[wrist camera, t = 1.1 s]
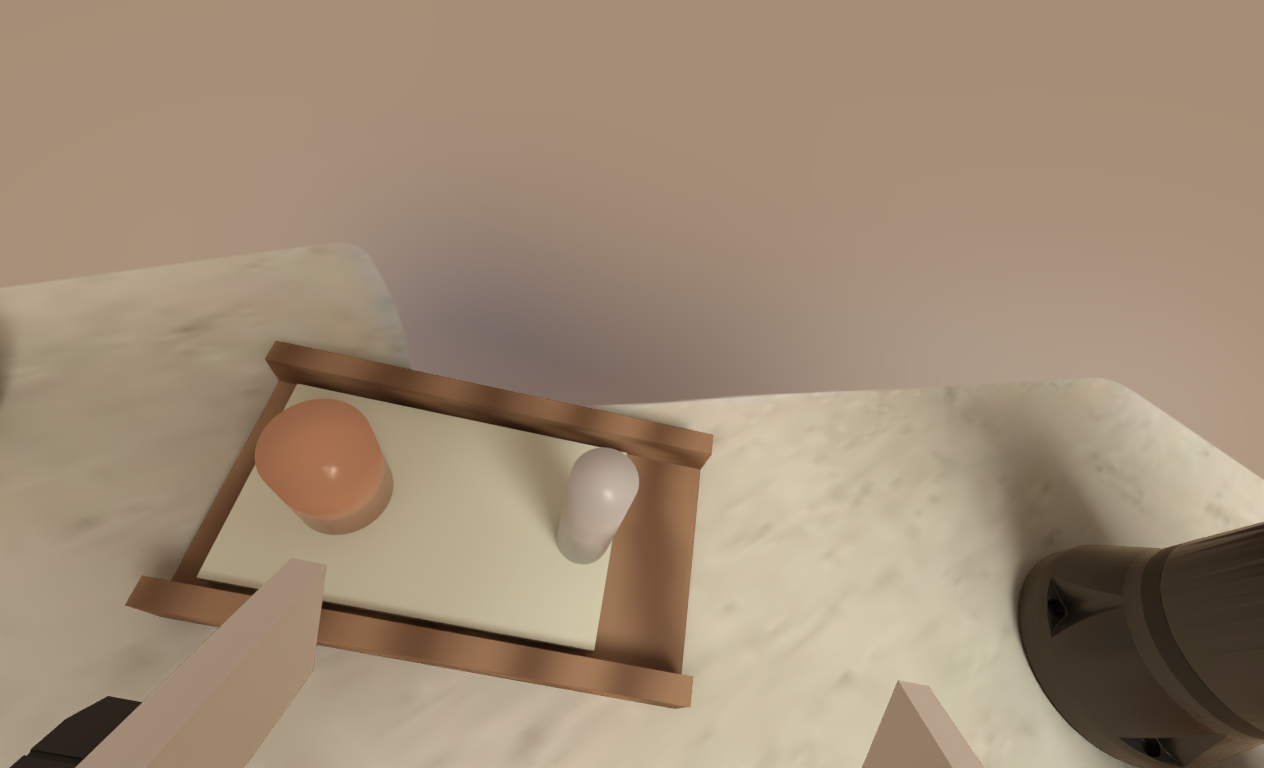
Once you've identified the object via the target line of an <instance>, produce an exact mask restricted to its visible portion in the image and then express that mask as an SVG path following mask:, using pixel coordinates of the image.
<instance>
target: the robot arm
mask: <svg viewBox="0 0 1264 768" xmlns="http://www.w3.org/2000/svg"><path fill="white" fill-rule="evenodd" d="M326 570H327V565H325V564H320V563H315V562H310V561H305V560H300V559H295V558H290V559H289V560H288V561H287V562H286V563H285V564H284V565H283V566H282V567H281V568H280V569H279V570H278V571H277V572H276V573H275V574H274V575H273V576H272V577H271V578H270V579H269V580H268V581H267V582H266V583H265V584H264V585H263V586H262V587H261V588H260V589H258V590H257V591H256V592H255V593H254V594H253V595H252V596H251V597H250V598H249V599H248V600H247V601H246V602H245V603H244V604H243V605H242V606H241V607H240V608H239V609H238V610H237V611H236V612H235V613H234V614H233V615H232V616H231V617H230V618H229V619H228V620H227V621H226V622H225V623H224V624H223V625H221V626H220V627H219V628H218V629H217V630H216V631H215V632H214V633H213V634H212V635H211V636H210V637H209V638H208V639H207V640H206V641H205V642H204V643H203V644H202V645H201V646H200V647H199V648H198V649H197V650H196V651H195V652H194V653H193V654H192V655H191V656H190V657H189V658H188V659H187V660H185V661H184V662H183V663H182V664H181V665H180V666H179V667H178V668H177V669H176V670H175V671H174V672H173V673H172V674H171V675H170V676H169V677H168V678H167V679H166V680H165V681H164V682H163V683H162V684H161V685H160V686H159V687H158V688H157V689H156V690H155V691H154V692H153V693H152V694H151V695H149V696H148V697H147V698H146V699H145V700H144V701H143V702H137V701H132V700H126V699H121V698H115V697H110V696H107V697H106V698H104V699H102V700H100V701H98V702H96V703H95V704H93V705H91V706H89V707H87V708H85V709H83V710H82V711H80V712H78V713H76V714H74V715H72V716H70V717H69V718H67V719H65V720H64V721H63V722H62V723H61V724H59V725H58V726H57V727H56V728H55V729H54V730H53V731H51V732H50V733H49V734H48V735H47V736H46V737H44V738H43V739H42V740H41V741H40V742H39V743H38V744H36V745H35V746H34V747H33V748H32V749H31V751H30V753H29V754H28V755H27V756H25V755H24V756H23V757H21V758H20V759H19V760H18V761H17V762H16V763H15V764H13V765H12V766H11V767H10V768H244V767H245V766H246V765H247V763H248V762H249V760H250V759H251V757H252V756H253V755H254V753H255V752H256V750H257V749H258V748H259V746H260V745H261V743H262V742H263V741H264V739H265V738H266V736H267V735H268V734H269V732H270V731H271V729H272V728H273V727H274V725H275V724H276V722H277V721H278V719H279V718H280V717H281V715H282V714H283V712H284V711H285V710H286V708H287V707H288V705H289V704H290V703H291V701H292V700H293V698H294V697H295V696H296V694H297V693H298V691H299V690H300V689H301V687H302V686H303V684H304V683H305V681H306V680H307V679H308V677H309V676H310V674H311V673H312V672H313V666H314V658H315V651H316V644H317V636H318V629H319V621H320V614H321V607H322V599H323V592H324V584H325V577H326ZM1019 619H1020V628H1021V634H1022V639H1023V643H1024V646H1025V650H1026V653H1027V656H1028V658H1029V661H1030V663H1031V666H1032V668H1033V670H1034V672H1035V675H1036V677H1037V679H1038V680H1039V682H1040V684H1041V686H1042V687H1043V689H1044V691H1045V692H1046V694H1047V695H1048V697H1049V698H1050V700H1051V701H1052V703H1053V704H1054V705H1055V707H1056V708H1057V709H1058V711H1059V712H1060V713H1061V714H1062V716H1063V717H1064V718H1065V719H1066V720H1067V721H1068V722H1069V723H1070V724H1071V725H1072V726H1073V727H1074V728H1075V729H1076V730H1077V731H1078V732H1079V733H1080V734H1081V735H1082V736H1083V737H1084V738H1086V739H1087V740H1088V741H1089V742H1091V743H1092V744H1093V745H1095V746H1096V747H1098V748H1099V749H1100V750H1102V751H1104V752H1105V753H1107V754H1109V755H1111V756H1112V757H1114V758H1116V759H1118V760H1121V761H1123V762H1126V763H1128V764H1131V765H1135V766H1138V767H1143V768H1201V767H1204V766H1207V765H1210V764H1212V763H1215V762H1217V761H1220V760H1222V759H1225V758H1227V757H1230V756H1232V755H1235V754H1238V753H1240V752H1243V751H1245V750H1248V749H1250V748H1253V747H1255V746H1258V745H1260V744H1263V743H1264V522H1262V523H1258V524H1254V525H1250V526H1246V527H1242V528H1239V529H1235V530H1231V531H1227V532H1223V533H1219V534H1216V535H1212V536H1208V537H1204V538H1200V539H1197V540H1193V541H1189V542H1186V543H1183V544H1179V545H1175V546H1171V547H1168V548H1164V549H1160V548H1142V547H1124V546H1106V545H1087V546H1079V547H1075V548H1071V549H1068V550H1065V551H1062V552H1059V553H1056V554H1053V555H1050V556H1048V557H1046V558H1044V559H1043V560H1041V561H1040V562H1039V563H1038V564H1037V565H1035V566H1034V568H1033V569H1032V570H1031V571H1030V573H1029V575H1028V576H1027V578H1026V580H1025V583H1024V585H1023V588H1022V592H1021V597H1020V605H1019ZM862 768H984V767H983V765H982V764H981V762H980V761H979V759H978V758H977V756H976V755H975V753H974V752H973V750H972V749H971V748H970V746H969V745H968V743H967V742H966V740H965V739H964V737H963V736H962V734H961V733H960V731H959V730H958V728H957V727H956V726H955V724H954V723H953V721H952V720H951V718H950V717H949V715H948V714H947V712H946V711H945V709H944V708H943V706H942V705H941V704H940V702H939V701H938V699H937V698H936V696H935V695H934V693H933V692H932V690H931V689H930V687H929V686H924V685H919V684H914V683H909V682H904V681H899V680H898V681H897V684H896V686H895V689H894V691H893V694H892V696H891V698H890V701H889V703H888V706H887V708H886V711H885V713H884V715H883V718H882V720H881V723H880V725H879V728H878V730H877V732H876V735H875V737H874V740H873V742H872V745H871V747H870V749H869V752H868V754H867V757H866V759H865V762H864V764H863V766H862Z"/></svg>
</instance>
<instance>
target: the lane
mask: <svg viewBox="0 0 1264 768" xmlns="http://www.w3.org/2000/svg"><path fill="white" fill-rule="evenodd" d="M265 360H266V361H267V363H268V364H269V366H270V367H271V369H272V370H273V372H274V373H275V375H276V376H277V378H278V379H279V383H278V385H277V387H276V388H275V390H274V392H273V394H272V396H271V398H270V399H269V401H268V403H267V405H266V407H265V409H264V411H263V412H262V414H261V416H260V418H259V420H258V422H257V423H256V425H255V427H254V429H253V431H252V433H251V435H250V436H249V438H248V440H247V442H246V444H245V446H244V447H243V449H242V451H241V453H240V455H239V457H238V459H237V460H236V462H235V464H234V466H233V468H232V470H231V471H230V473H229V475H228V477H227V479H226V481H225V483H224V484H223V486H222V488H221V490H220V492H219V494H218V496H217V497H216V499H215V501H214V503H213V505H212V507H211V508H210V510H209V512H208V514H207V516H206V518H205V520H204V521H203V523H202V525H201V527H200V529H199V531H198V532H197V534H196V536H195V538H194V540H193V542H192V544H191V545H190V547H189V549H188V551H187V553H186V555H185V556H184V558H183V560H182V562H181V564H180V566H179V568H178V569H177V571H176V573H175V575H174V577H173V579H172V580H171V581H168V580H163V579H157V578H152V577H146V576H141V578H140V580H139V582H138V583H137V585H136V587H135V589H134V590H133V592H132V594H131V596H130V597H129V599H128V601H127V603H126V604H125V605H126V606H129V607H132V608H135V609H138V610H142V611H145V612H148V613H151V614H154V615H157V616H160V617H165V618H170V619H176V620H182V621H187V622H193V623H198V624H204V625H210V626H215V627H220V626H221V625H223V624H224V623H225V622H226V621H227V620H228V619H229V618H230V617H231V616H232V615H233V614H234V613H235V612H236V611H237V610H238V609H239V608H240V607H241V606H242V605H243V604H244V603H245V602H246V601H247V600H248V599H249V598H250V597H251V596H252V595H253V594H254V593H255V592H256V591H253V590H247V589H242V588H237V587H231V586H226V585H220V584H215V583H209V582H205V581H203V580H201V579H198V578H196V577H197V575H198V573H199V571H200V569H201V567H202V565H203V564H204V562H205V560H206V558H207V556H208V554H209V552H210V550H211V548H212V546H213V544H214V542H215V540H216V539H217V537H218V535H219V533H220V531H221V529H222V527H223V525H224V523H225V521H226V519H227V517H228V516H229V514H230V512H231V510H232V508H233V506H234V504H235V502H236V500H237V498H238V496H239V494H240V493H241V491H242V489H243V487H244V485H245V483H246V481H247V479H248V477H249V475H250V473H251V471H252V470H253V468H254V466H255V448H256V444H257V441H258V439H259V436H260V435H261V433H262V431H263V430H264V428H265V427H266V426H267V424H268V423H269V422H270V421H271V420H272V419H273V418H274V417H276V416H277V415H278V414H279V413H281V412H282V411H283V410H284V408H285V406H286V404H287V402H288V400H289V399H290V397H291V395H292V393H293V391H294V389H295V387H296V385H297V384H302V385H307V386H311V387H316V388H321V389H326V390H330V391H335V392H340V393H345V394H349V395H354V396H359V397H364V398H368V399H373V400H378V401H383V402H387V403H392V404H397V405H402V406H406V407H411V408H416V409H421V410H425V411H430V412H435V413H440V414H444V415H449V416H454V417H459V418H463V419H468V420H473V421H478V422H482V423H487V424H492V425H497V426H501V427H506V428H511V429H516V430H520V431H525V432H530V433H535V434H539V435H544V436H549V437H554V438H558V439H563V440H568V441H573V442H577V443H582V444H587V445H592V446H596V447H604V448H612V449H615V450H618V451H620V452H625V453H627V457H628V458H629V459H630V460H631V461H632V462H633V464H634V465H635V467H636V469H637V472H638V476H639V487H638V491H637V494H636V496H635V498H634V500H633V502H632V504H631V505H630V507H629V509H628V511H627V513H626V515H625V517H624V519H623V520H622V522H621V524H620V526H619V528H618V530H617V532H616V533H615V535H614V537H613V540H612V546H611V552H610V558H609V564H608V570H607V576H606V582H605V588H604V594H603V600H602V606H601V612H600V618H599V624H598V630H597V637H596V643H595V649H594V651H593V652H592V653H590V652H584V651H579V650H573V649H568V648H563V647H557V646H552V645H546V644H541V643H535V642H530V641H525V640H519V639H514V638H508V637H503V636H497V635H492V634H487V633H481V632H476V631H470V630H465V629H459V628H454V627H448V626H443V625H438V624H432V623H427V622H421V621H416V620H410V619H405V618H400V617H394V616H389V615H383V614H378V613H372V612H367V611H362V610H356V609H351V608H345V607H340V606H334V605H329V604H324V603H322V607H321V614H320V621H319V629H318V636H317V644H316V645H321V646H327V647H333V648H338V649H344V650H349V651H355V652H361V653H366V654H372V655H377V656H383V657H388V658H394V659H400V660H405V661H411V662H416V663H422V664H428V665H433V666H439V667H444V668H450V669H456V670H461V671H467V672H472V673H478V674H484V675H489V676H495V677H500V678H506V679H512V680H517V681H523V682H528V683H534V684H539V685H545V686H551V687H556V688H562V689H567V690H573V691H579V692H584V693H590V694H595V695H601V696H607V697H612V698H618V699H623V700H629V701H635V702H640V703H646V704H651V705H657V706H663V707H668V708H674V709H676V708H684V707H691V695H692V683H693V677H692V676H686V675H681V673H682V662H683V652H684V641H685V630H686V619H687V609H688V598H689V587H690V576H691V566H692V555H693V544H694V533H695V523H696V512H697V501H698V490H699V480H700V469H701V468H702V467H703V465H704V464H705V463H706V461H707V460H708V459H709V457H710V456H711V454H712V444H713V435H712V434H707V433H702V432H698V431H693V430H688V429H684V428H679V427H674V426H670V425H665V424H660V423H656V422H651V421H647V420H642V419H637V418H633V417H628V416H623V415H619V414H614V413H609V412H605V411H600V410H595V409H591V408H586V407H582V406H577V405H572V404H567V403H562V402H558V401H554V400H549V399H544V398H540V397H535V396H530V395H525V394H521V393H516V392H512V391H507V390H503V389H498V388H493V387H489V386H484V385H479V384H475V383H470V382H465V381H461V380H456V379H451V378H447V377H442V376H438V375H433V374H428V373H423V372H419V371H414V370H410V369H405V368H400V367H396V366H391V365H386V364H382V363H377V362H372V361H368V360H363V359H359V358H354V357H349V356H345V355H340V354H335V353H331V352H326V351H321V350H317V349H312V348H307V347H303V346H298V345H294V344H289V343H284V342H280V341H275V343H274V344H273V346H272V348H271V350H270V351H269V353H268V355H267V357H266V358H265Z"/></svg>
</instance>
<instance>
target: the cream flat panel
mask: <svg viewBox="0 0 1264 768" xmlns="http://www.w3.org/2000/svg"><path fill="white" fill-rule="evenodd" d="M313 399H334V400H339V401H343V402H345V403H348V404H350V405H352V406H354V407H355V408H357V409H358V410H359V411H360V412H361V413H362V414H363V415H364V416H365V417H366V419H367V420H368V422H369V424H370V426H371V428H372V430H373V432H374V435H375V437H376V439H377V441H378V443H379V446H380V448H381V450H382V452H383V455H384V457H385V459H386V461H387V463H388V466H389V468H390V470H391V473H392V476H393V493H392V496H391V499H390V501H389V504H388V505H387V507H386V509H385V510H384V511H383V513H382V514H381V515H380V516H379V517H378V518H377V519H376V520H375V521H374V522H372V523H371V524H369V525H368V526H366V527H364V528H362V529H360V530H358V531H355V532H352V533H348V534H342V535H330V534H324V533H320V532H318V531H315V530H313V529H312V528H310V527H309V526H307V525H306V524H305V523H304V522H303V521H302V520H301V519H300V518H299V517H298V516H297V515H296V514H295V513H294V512H293V511H292V510H291V509H290V508H289V507H288V506H287V505H286V504H285V503H284V502H283V501H282V500H281V499H280V498H279V496H278V495H277V494H276V493H275V492H274V491H273V490H272V489H271V488H270V487H269V486H268V485H267V484H266V483H265V482H264V481H263V480H262V478H261V477H260V475H259V473H258V471H257V469H256V464H255V466H254V468H253V470H252V471H251V473H250V475H249V477H248V479H247V481H246V483H245V485H244V487H243V489H242V491H241V493H240V494H239V496H238V498H237V500H236V502H235V504H234V506H233V508H232V510H231V512H230V514H229V516H228V517H227V519H226V521H225V523H224V525H223V527H222V529H221V531H220V533H219V535H218V537H217V539H216V540H215V542H214V544H213V546H212V548H211V550H210V552H209V554H208V556H207V558H206V560H205V562H204V564H203V565H202V567H201V569H200V571H199V573H198V575H197V577H196V578H198V579H201V580H203V581H205V582H209V583H215V584H220V585H226V586H231V587H237V588H242V589H247V590H253V591H257V590H258V589H260V588H261V587H262V586H263V585H264V584H265V583H266V582H267V581H268V580H269V579H270V578H271V577H272V576H273V575H274V574H275V573H276V572H277V571H278V570H279V569H280V568H281V567H282V566H283V565H284V564H285V563H286V562H287V561H288V560H289V559H290V558H295V559H300V560H305V561H310V562H315V563H320V564H325V565H327V570H326V577H325V584H324V592H323V599H322V603H324V604H329V605H334V606H340V607H345V608H351V609H356V610H362V611H367V612H372V613H378V614H383V615H389V616H394V617H400V618H405V619H410V620H416V621H421V622H427V623H432V624H438V625H443V626H448V627H454V628H459V629H465V630H470V631H476V632H481V633H487V634H492V635H497V636H503V637H508V638H514V639H519V640H525V641H530V642H535V643H541V644H546V645H552V646H557V647H563V648H568V649H573V650H579V651H584V652H590V653H592V652H593V651H594V649H595V643H596V637H597V630H598V624H599V618H600V612H601V606H602V600H603V594H604V588H605V582H606V576H607V570H608V564H609V558H610V552H611V546H612V540H613V537H614V535H615V533H616V532H617V530H618V528H619V526H620V524H621V522H622V520H623V519H624V517H625V515H626V513H627V511H628V509H629V507H630V505H631V504H632V502H633V500H634V498H635V496H636V494H637V491H638V487H639V476H638V472H637V469H636V467H635V465H634V464H633V462H632V461H631V460H630V459H629V458H628V457H627V453H625V452H620V451H618V450H615V449H612V448H604V447H596V446H592V445H587V444H582V443H577V442H573V441H568V440H563V439H558V438H554V437H549V436H544V435H539V434H535V433H530V432H525V431H520V430H516V429H511V428H506V427H501V426H497V425H492V424H487V423H482V422H478V421H473V420H468V419H463V418H459V417H454V416H449V415H444V414H440V413H435V412H430V411H425V410H421V409H416V408H411V407H406V406H402V405H397V404H392V403H387V402H383V401H378V400H373V399H368V398H364V397H359V396H354V395H349V394H345V393H340V392H335V391H330V390H326V389H321V388H316V387H311V386H307V385H302V384H297V385H296V387H295V389H294V391H293V393H292V395H291V397H290V399H289V400H288V402H287V404H286V406H285V408H284V410H285V409H287V408H289V407H291V406H293V405H295V404H298V403H301V402H304V401H308V400H313ZM284 410H283V411H284Z"/></svg>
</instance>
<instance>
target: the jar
mask: <svg viewBox="0 0 1264 768" xmlns="http://www.w3.org/2000/svg"><path fill="white" fill-rule="evenodd" d="M255 464H256V469H257V471H258V473H259V475H260V477H261V478H262V480H263V481H264V482H265V483H266V484H267V485H268V486H269V487H270V488H271V489H272V490H273V491H274V492H275V493H276V494H277V495H278V496H279V498H280V499H281V500H282V501H283V502H284V503H285V504H286V505H287V506H288V507H289V508H290V509H291V510H292V511H293V512H294V513H295V514H296V515H297V516H298V517H299V518H300V519H301V520H302V521H303V522H304V523H305V524H306V525H307V526H309V527H310V528H312V529H313V530H315V531H318V532H320V533H324V534H330V535H342V534H348V533H352V532H355V531H358V530H360V529H362V528H364V527H366V526H368V525H369V524H371V523H372V522H374V521H375V520H376V519H377V518H378V517H379V516H380V515H381V514H382V513H383V511H384V510H385V509H386V507H387V505H388V504H389V501H390V499H391V496H392V493H393V476H392V473H391V470H390V468H389V466H388V463H387V461H386V459H385V457H384V455H383V452H382V450H381V448H380V446H379V443H378V441H377V439H376V437H375V435H374V432H373V430H372V428H371V426H370V424H369V422H368V420H367V419H366V417H365V416H364V415H363V414H362V413H361V412H360V411H359V410H358V409H357V408H355V407H354V406H352V405H350V404H348V403H345V402H343V401H339V400H334V399H313V400H308V401H304V402H301V403H298V404H295V405H293V406H291V407H289V408H287V409H285V410H284V411H282V412H281V413H279V414H278V415H277V416H276V417H274V418H273V419H272V420H271V421H270V422H269V423H268V424H267V426H266V427H265V428H264V430H263V431H262V433H261V435H260V436H259V439H258V441H257V444H256V448H255Z"/></svg>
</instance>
